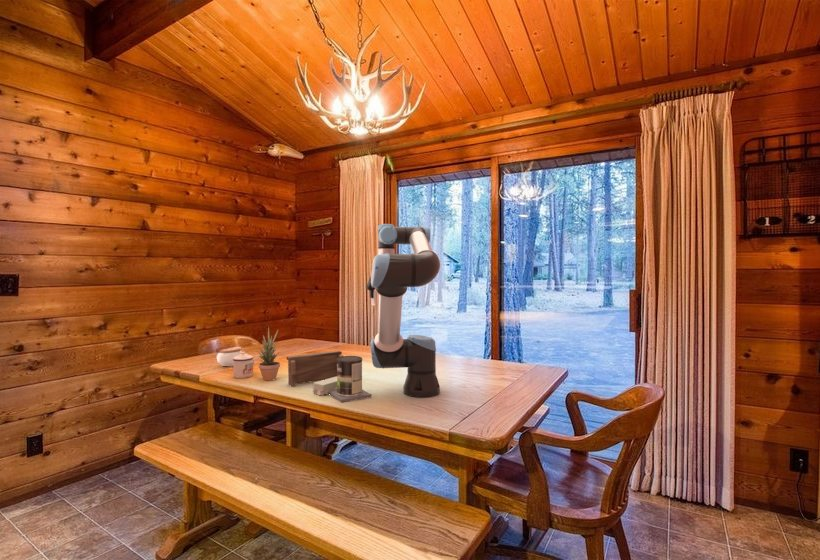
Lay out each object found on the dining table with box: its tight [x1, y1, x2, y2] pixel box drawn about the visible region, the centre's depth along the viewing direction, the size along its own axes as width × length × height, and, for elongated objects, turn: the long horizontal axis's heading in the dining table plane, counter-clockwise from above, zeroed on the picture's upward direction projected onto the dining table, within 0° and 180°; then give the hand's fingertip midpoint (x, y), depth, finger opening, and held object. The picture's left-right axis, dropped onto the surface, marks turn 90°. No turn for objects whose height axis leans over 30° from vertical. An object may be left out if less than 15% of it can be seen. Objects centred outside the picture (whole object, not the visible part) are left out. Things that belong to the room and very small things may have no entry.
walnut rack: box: [286, 350, 344, 388], centre depth 191 cm, size 6×25×12 cm, turn 122°
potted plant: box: [258, 326, 281, 381], centre depth 196 cm, size 10×10×25 cm
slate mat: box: [328, 388, 372, 403], centre depth 170 cm, size 13×13×1 cm
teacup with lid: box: [232, 351, 255, 379], centre depth 202 cm, size 12×9×12 cm
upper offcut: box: [312, 376, 337, 391], centre depth 176 cm, size 6×13×2 cm, turn 143°
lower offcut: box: [312, 387, 337, 396], centre depth 176 cm, size 6×13×2 cm, turn 131°
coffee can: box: [337, 355, 363, 397], centre depth 170 cm, size 10×10×14 cm
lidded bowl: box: [215, 344, 242, 367], centre depth 224 cm, size 13×13×11 cm
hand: (386, 304), depth 193 cm, fingers open, 13 cm apart
